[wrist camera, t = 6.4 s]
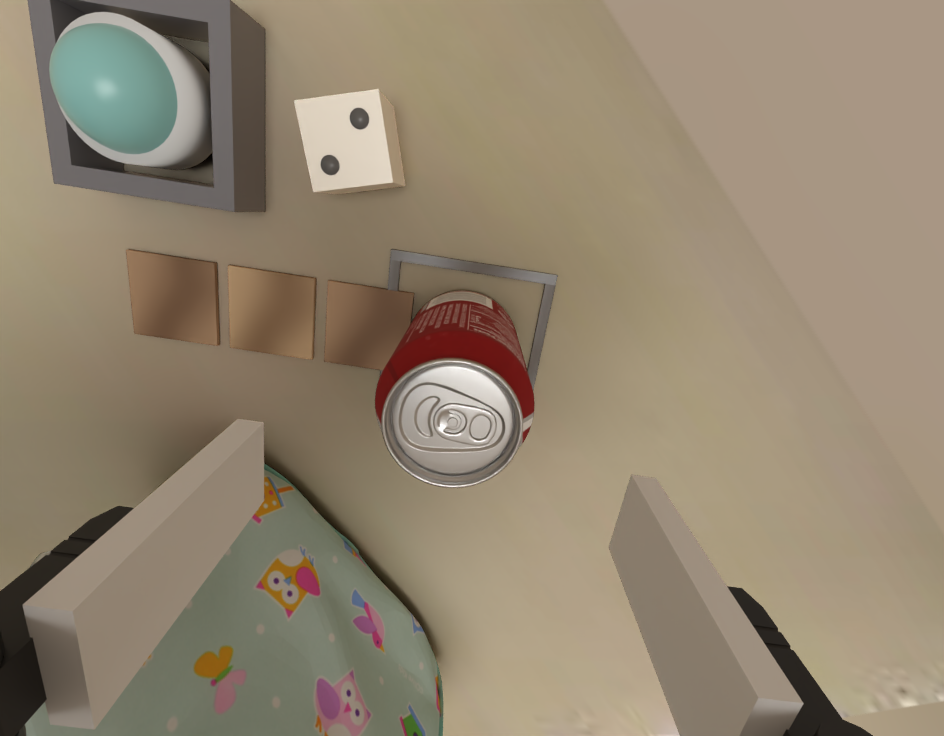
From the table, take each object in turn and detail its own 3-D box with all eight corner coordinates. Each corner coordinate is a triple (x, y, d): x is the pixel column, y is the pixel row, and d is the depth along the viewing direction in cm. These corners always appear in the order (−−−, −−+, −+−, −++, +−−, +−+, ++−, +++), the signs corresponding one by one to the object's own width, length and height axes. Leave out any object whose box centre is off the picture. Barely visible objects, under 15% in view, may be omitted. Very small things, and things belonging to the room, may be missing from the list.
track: (141, 367, 30) (137, 368, 29) (125, 207, 26) (121, 207, 26) (525, 423, 31) (526, 425, 30) (557, 274, 27) (557, 275, 27)
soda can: (420, 277, 28) (378, 325, 16) (527, 301, 28) (560, 364, 17) (401, 379, 30) (353, 484, 18) (502, 400, 30) (515, 515, 19)
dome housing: (107, 186, 26) (53, 183, 23) (87, -2, 23) (22, -37, 20) (265, 211, 26) (234, 211, 23) (265, 29, 23) (229, -1, 20)
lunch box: (135, 477, 33) (-427, 913, 12) (239, 404, 31) (-230, 785, 10) (366, 696, 40) (248, 1203, 19) (463, 650, 38) (443, 1160, 17)
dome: (110, 159, 24) (16, 147, 19) (97, 27, 22) (-12, -25, 17) (224, 178, 24) (159, 170, 19) (220, 47, 22) (148, 2, 18)
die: (337, 194, 26) (312, 192, 22) (322, 116, 25) (293, 100, 21) (405, 186, 26) (392, 182, 22) (394, 107, 25) (378, 88, 21)
